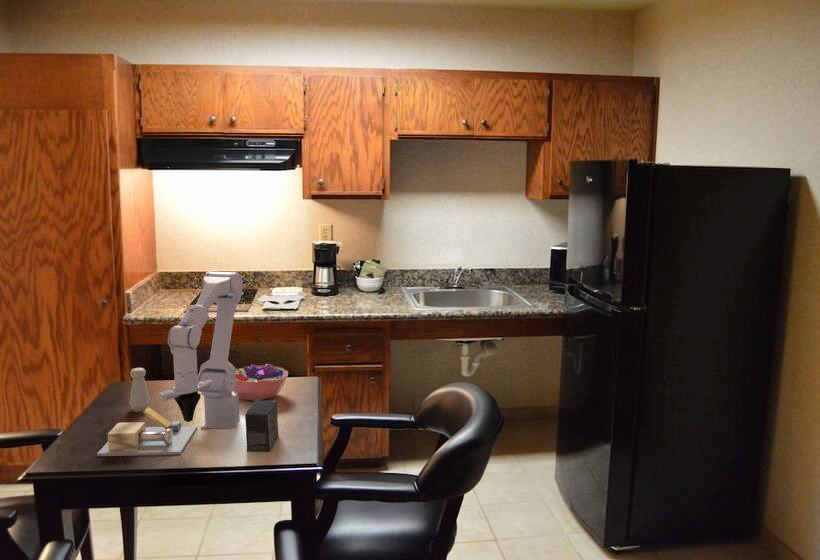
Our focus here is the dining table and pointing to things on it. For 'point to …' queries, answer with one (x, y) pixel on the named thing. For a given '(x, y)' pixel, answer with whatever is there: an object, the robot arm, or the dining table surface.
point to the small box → (261, 426)
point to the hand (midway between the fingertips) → (188, 420)
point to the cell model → (259, 382)
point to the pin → (157, 436)
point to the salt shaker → (139, 390)
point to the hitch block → (125, 436)
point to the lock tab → (157, 418)
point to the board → (157, 444)
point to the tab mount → (175, 426)
